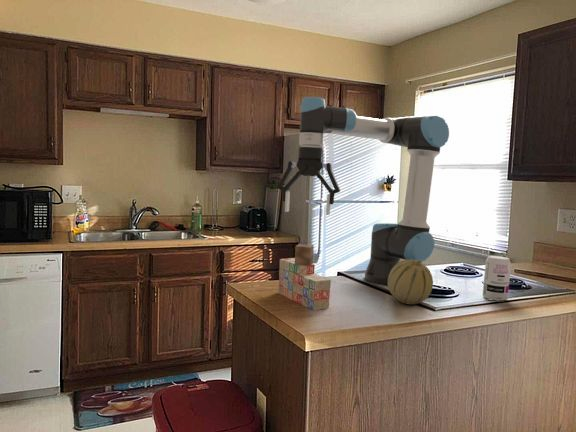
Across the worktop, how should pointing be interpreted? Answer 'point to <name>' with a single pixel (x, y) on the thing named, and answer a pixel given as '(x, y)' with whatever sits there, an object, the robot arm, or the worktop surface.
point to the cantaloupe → (410, 282)
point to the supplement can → (496, 278)
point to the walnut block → (304, 254)
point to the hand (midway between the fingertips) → (307, 213)
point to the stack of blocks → (303, 285)
